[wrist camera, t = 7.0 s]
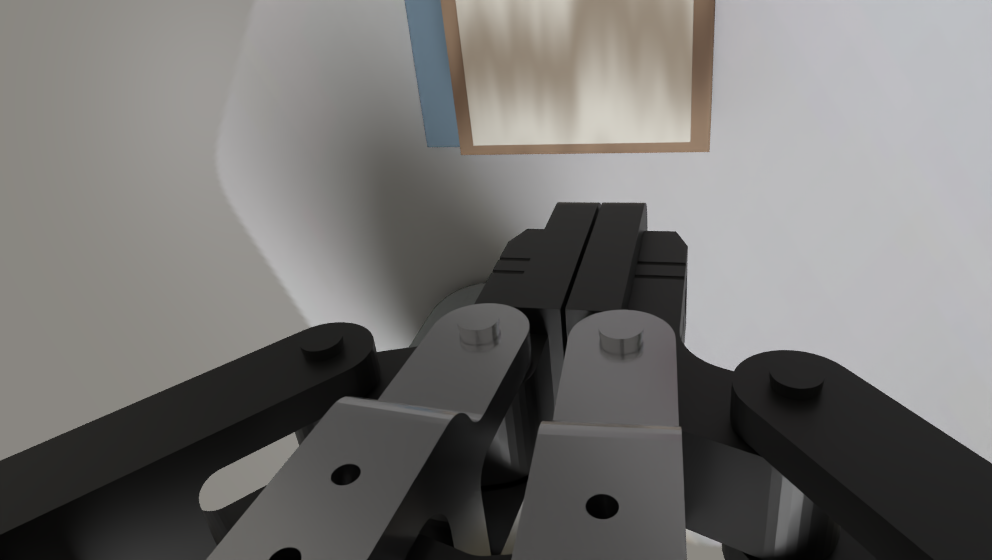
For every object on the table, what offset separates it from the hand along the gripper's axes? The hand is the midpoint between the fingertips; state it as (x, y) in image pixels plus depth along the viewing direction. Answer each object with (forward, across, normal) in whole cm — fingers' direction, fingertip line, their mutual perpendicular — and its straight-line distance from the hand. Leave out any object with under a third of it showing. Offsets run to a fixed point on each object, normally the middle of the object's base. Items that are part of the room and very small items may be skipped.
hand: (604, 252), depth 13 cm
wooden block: (+18, -2, 0) cm, 18 cm away
